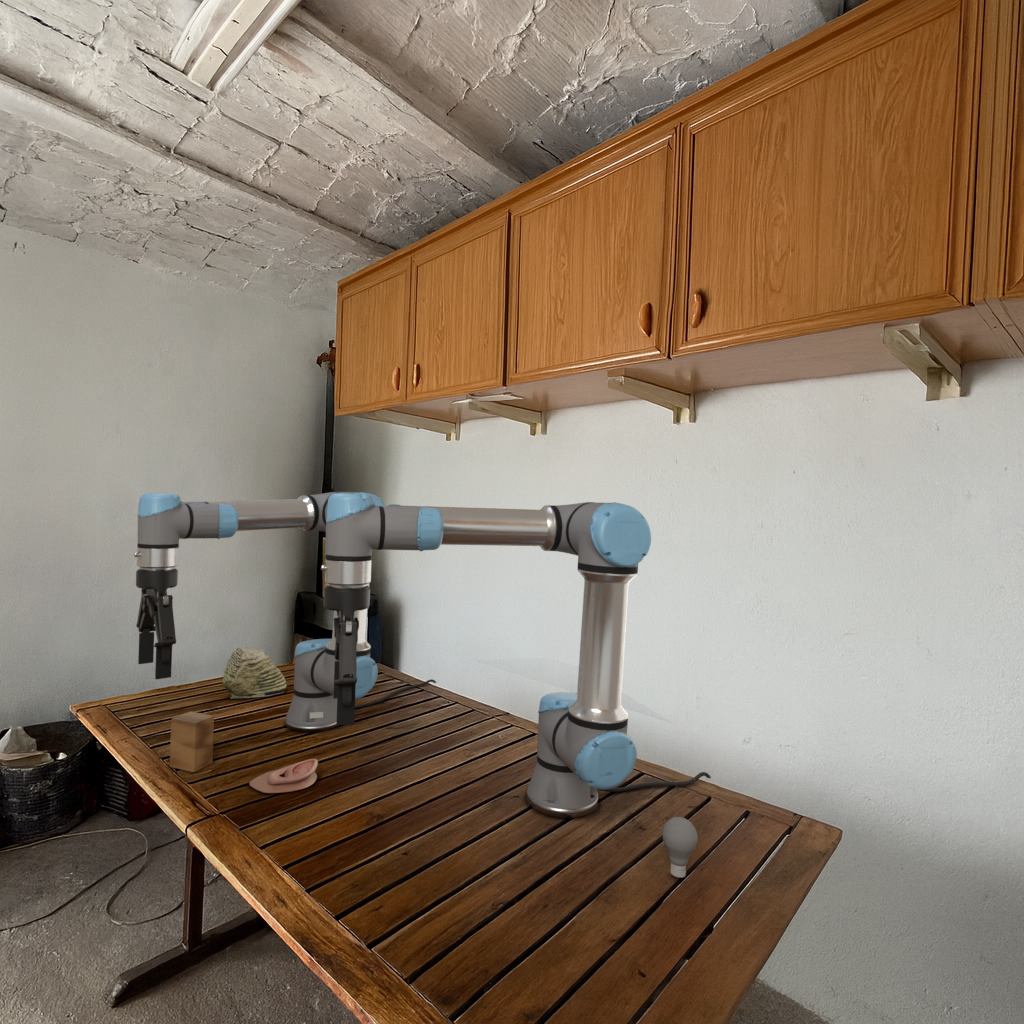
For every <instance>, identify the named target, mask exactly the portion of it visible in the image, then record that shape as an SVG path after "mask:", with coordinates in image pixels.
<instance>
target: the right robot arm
mask: <svg viewBox="0 0 1024 1024" xmlns="http://www.w3.org/2000/svg"><path fill="white" fill-rule="evenodd" d="M651 544H652V531H651V527H650V524H649V522H648V520H647V519H646V517H645V516H644V515H643V513H641V511H639V510H638V509H637V508H635V507H633V506H631V505H628V504H624V503H622V502H621V503H620V502H595V501H586V502H578V503H571V504H570V503H569V504H559V505H556V504H555V505H550V504H549V505H548V504H546V505H543V506H542V507H541V508H540V509H527V508H526V509H525V508H522V509H521V508H490V507H462V506H458V507H456V506H428V505H422V506H421V505H400V504H388V505H386V506H385V507H382V506H376V505H374V502H373V497H372V496H371V495H369V494H347V493H334V494H332V495H331V496H330V497H329V499H328V507H327V518H326V532H325V562H324V563H325V564H322V565H321V566H320V570H321V571H324V583H326V584H327V585H325V587H324V588H323V607H324V608H325V609H326V610H328V611H333V612H334V611H336V612H337V618H334V617H333V621H334V635H335V638H336V642H335V649H334V652H335V660H338V661H335V667H334V696H333V698H334V699H336V698H337V727H339V726H349V725H351V726H352V725H355V720H356V719H355V715H356V708H355V706H356V700H355V690H356V683H357V677H356V645H357V642H358V630H359V620H358V618H355V615H354V612H355V611H357V610H364V609H367V608H369V607H370V606H371V605H370V604H371V603H370V602H371V588H370V584H371V582H372V555H371V552H373V550H374V551H375V550H376V551H377V550H378V551H381V550H383V551H384V550H387V551H419V552H423V551H435V550H438V549H439V548H440V547H441V546H444V545H445V546H498V547H499V546H503V547H504V546H505V547H539V548H540V549H541V550H542V551H545V552H559V553H565V554H569V555H573V556H577V571H578V573H579V574H580V575H581V576H582V578H583V581H584V582H583V597H582V613H581V627H580V628H581V629H580V643H579V659H578V674H577V689H576V692H571V691H570V692H569V691H563V692H562V691H561V692H551V693H547V694H545V695H543V696H542V697H541V698H540V700H539V707H538V711H537V713H538V723H537V724H538V725H537V749H536V750H537V752H536V764H535V767H534V770H533V773H532V775H531V777H530V780H529V783H528V786H527V789H526V802H527V804H528V805H529V806H530V807H531V808H532V809H534V810H535V811H536V812H538V813H541V814H543V815H546V816H549V817H554V818H561V819H562V818H563V819H574V818H575V819H576V818H582V817H586V816H588V815H590V814H592V813H593V812H595V811H596V810H597V808H598V805H599V793H598V792H599V791H600V792H601V791H602V792H608V793H622V792H628V791H633V790H637V789H643V788H650V787H684V786H688V785H691V784H694V783H695V782H697V781H698V780H699V779H701V778H702V777H706V779H711V778H712V777H711V775H710V774H709V773H707V772H705V771H701V772H699V773H698V774H697V775H695V776H694V777H692V778H691V779H689V780H683V781H654V782H653V781H651V782H643V783H637V784H631V785H627V786H622V787H618V786H621V784H622V783H623V782H624V781H625V779H627V778H629V777H630V775H631V774H632V772H633V770H634V769H635V766H636V763H637V758H638V757H637V756H638V755H637V754H638V753H637V748H636V745H635V743H634V741H633V739H632V738H631V737H630V735H628V727H629V726H628V723H629V713H628V712H627V710H626V709H625V708H624V707H623V705H622V693H623V679H624V663H625V648H626V634H627V617H628V603H629V588H630V583H631V581H633V580H634V579H635V578H636V577H637V576H638V573H639V564H640V563H641V562H642V561H643V560H644V558H645V557H646V556H647V555H648V554H649V551H650V550H651V549H650V548H651ZM367 584H369V586H367ZM350 675H352V676H350ZM338 725H339V726H338ZM694 779H695V780H694Z"/></svg>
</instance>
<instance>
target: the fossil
mask: <svg viewBox="0 0 1024 1024" xmlns="http://www.w3.org/2000/svg"><path fill="white" fill-rule="evenodd" d="M222 676H223V677H222V685H223V687H224V688H225V690H226V691H228V693H229V698H230V699H250V698H264V697H271V696H275V695H281V694H284V693H285V691H286V689H287V687H288V686H287V680H286V678H285V676H284V674H283V673H282V672H281V669H279V668H278V667H277V665H276V663H275V662H274V660H273V659H272V658H271V657H270V656H269V655H268V654H267V653H266V652H265V650H264V649H263V648H260V647H258V648H251V647H247V646H246V647H245V646H238V647H237V648H236V649H235V650H233V651H232V653H231V656H230V657H229V659H228V660H227V663H226V666H225V668H224V671H223V675H222Z"/></svg>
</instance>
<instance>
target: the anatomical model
mask: <svg viewBox="0 0 1024 1024" xmlns="http://www.w3.org/2000/svg"><path fill="white" fill-rule="evenodd" d="M318 764H319V761H318V759H317V758H309V759H305V760H302V761H299V762H296V763H293V764H290V765H289V764H288V765H287V766H284V767H281V768H279V769H274V770H271V771H268V772H265V773H263V774H260V775H258V776H256V777H254V778H252V779H251V780H250V781H249V783H248V784H249V785H248V786H250V787H251V788H253V789H254V790H256V791H258V792H261V793H264V794H279V793H289V792H295V791H298V790H303V789H306V788H309V787H311V786H312V785H313V784H315V782H316V781H317V778H318V775H317V773H316V770H317V768H318Z"/></svg>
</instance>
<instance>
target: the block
mask: <svg viewBox="0 0 1024 1024" xmlns="http://www.w3.org/2000/svg"><path fill="white" fill-rule="evenodd" d="M214 731H215V715H211V714H208V713H202V712H195V711H191V710H190V711H188V712H184V713H182V714H180V715H177V716H174V717H172V718H171V720H170V743H169V744H170V746H169V768H173V769H177V770H181V771H186V772H189V773H190V772H191V773H195V772H197V771H200V770H201V769H203V768H206V767H208V766H210V765H213V763H214V762H213V761H214V758H213V757H214V733H215V732H214Z"/></svg>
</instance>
